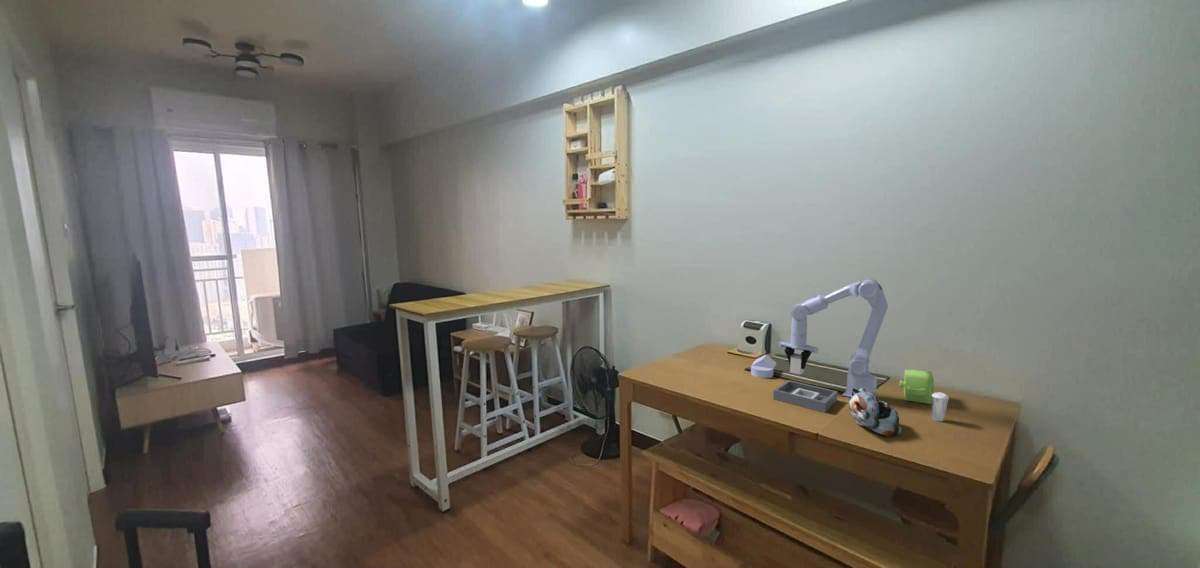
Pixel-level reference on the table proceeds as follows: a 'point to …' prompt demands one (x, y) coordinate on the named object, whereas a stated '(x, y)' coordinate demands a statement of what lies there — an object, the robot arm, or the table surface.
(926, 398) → the gearbox
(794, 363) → the block
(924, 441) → the table surface
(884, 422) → the lucky cat figurine
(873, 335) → the robot arm
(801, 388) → the housing
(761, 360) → the wedge on round base
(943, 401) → the milkshake
